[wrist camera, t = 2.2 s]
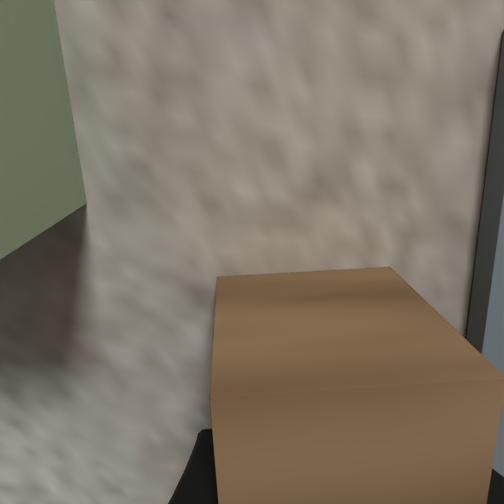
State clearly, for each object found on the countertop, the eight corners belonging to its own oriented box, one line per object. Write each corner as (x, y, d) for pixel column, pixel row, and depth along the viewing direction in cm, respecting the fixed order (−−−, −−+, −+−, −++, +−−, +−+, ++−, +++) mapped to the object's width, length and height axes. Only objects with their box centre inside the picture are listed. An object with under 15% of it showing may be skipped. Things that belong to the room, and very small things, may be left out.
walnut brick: (374, 528, 14) (449, 739, 9) (235, 540, 14) (240, 759, 9) (389, 267, 11) (506, 378, 7) (217, 276, 11) (209, 398, 6)
